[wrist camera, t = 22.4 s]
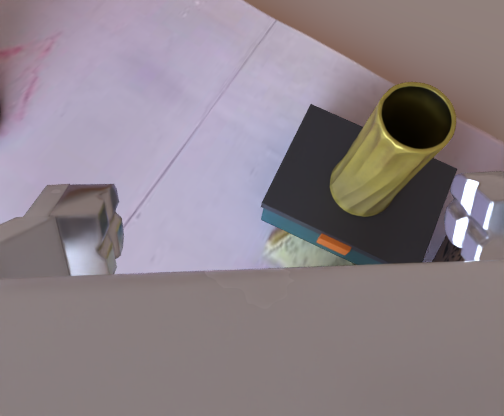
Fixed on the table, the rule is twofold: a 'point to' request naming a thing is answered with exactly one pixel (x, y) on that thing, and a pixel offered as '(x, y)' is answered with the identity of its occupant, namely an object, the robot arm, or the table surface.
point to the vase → (392, 147)
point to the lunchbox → (338, 220)
